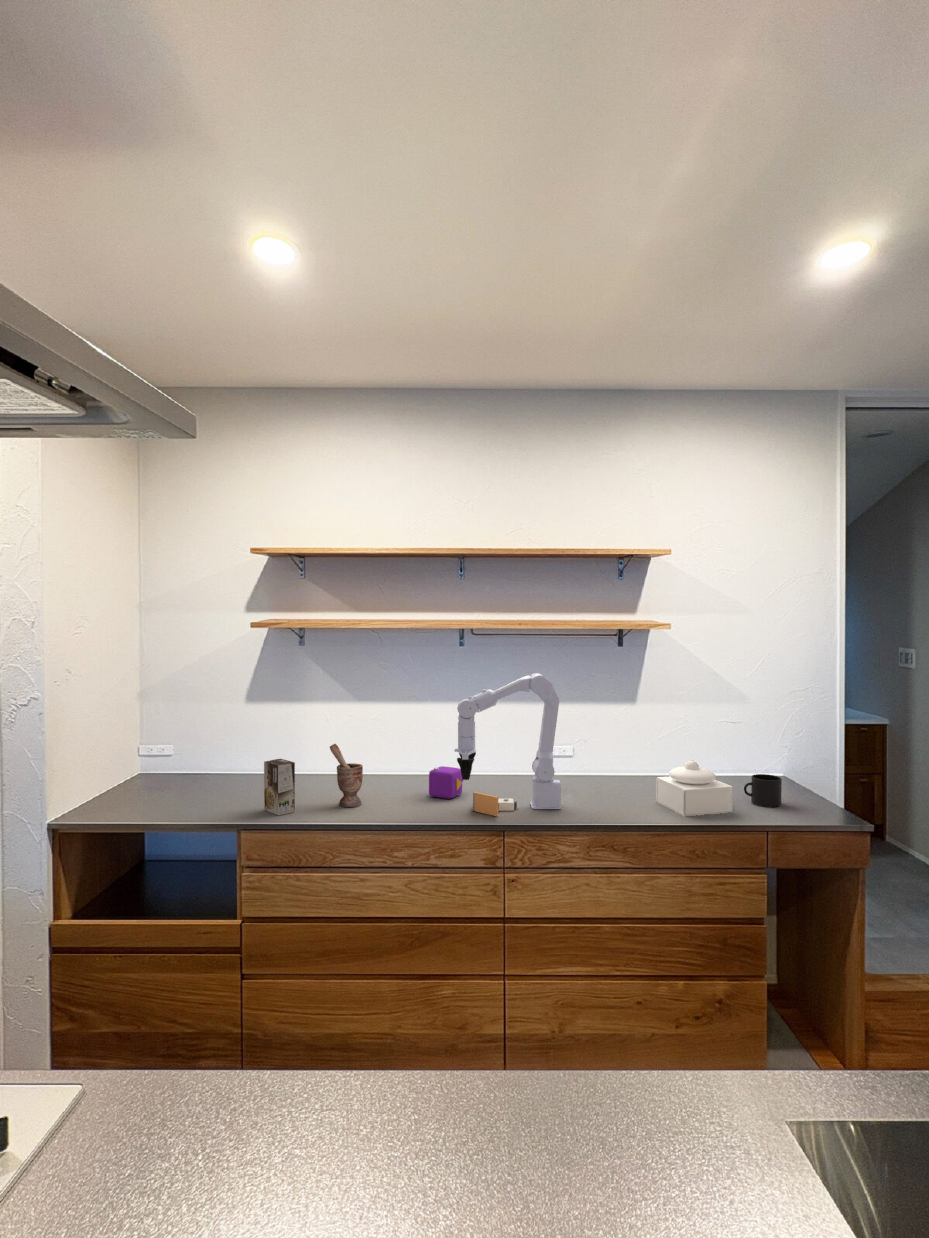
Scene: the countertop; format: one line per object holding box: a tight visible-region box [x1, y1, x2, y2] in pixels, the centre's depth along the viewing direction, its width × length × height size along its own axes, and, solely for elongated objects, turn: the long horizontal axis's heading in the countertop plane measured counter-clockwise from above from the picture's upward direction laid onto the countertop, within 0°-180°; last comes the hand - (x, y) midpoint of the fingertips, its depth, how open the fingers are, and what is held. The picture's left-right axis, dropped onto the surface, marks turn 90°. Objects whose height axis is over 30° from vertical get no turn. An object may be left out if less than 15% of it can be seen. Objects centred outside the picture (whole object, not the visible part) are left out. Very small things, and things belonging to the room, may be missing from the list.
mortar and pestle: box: [329, 743, 364, 808], centre depth 245 cm, size 12×9×20 cm
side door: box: [472, 791, 499, 817], centre depth 235 cm, size 10×1×6 cm, turn 51°
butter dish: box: [655, 760, 733, 817], centre depth 243 cm, size 18×18×16 cm
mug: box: [743, 773, 783, 808], centre depth 248 cm, size 9×12×9 cm
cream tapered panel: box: [498, 798, 518, 812], centre depth 241 cm, size 14×5×3 cm, turn 91°
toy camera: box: [428, 766, 464, 800], centre depth 258 cm, size 11×14×10 cm
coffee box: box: [263, 758, 296, 816], centre depth 237 cm, size 9×6×16 cm
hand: (466, 776), depth 242 cm, fingers open, 7 cm apart
